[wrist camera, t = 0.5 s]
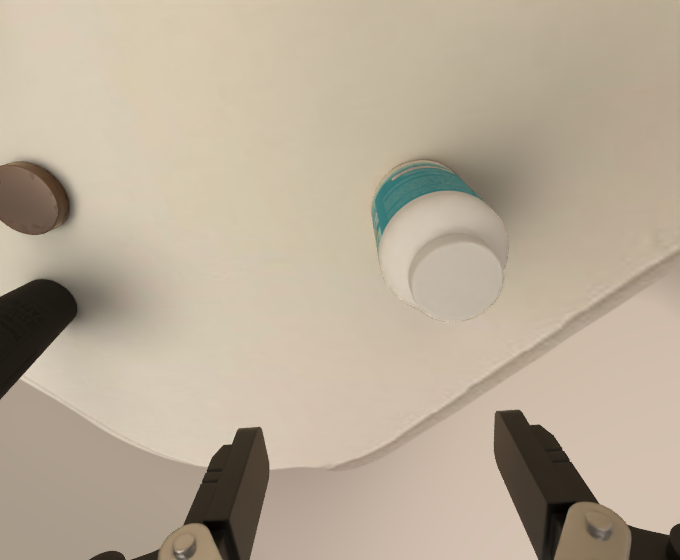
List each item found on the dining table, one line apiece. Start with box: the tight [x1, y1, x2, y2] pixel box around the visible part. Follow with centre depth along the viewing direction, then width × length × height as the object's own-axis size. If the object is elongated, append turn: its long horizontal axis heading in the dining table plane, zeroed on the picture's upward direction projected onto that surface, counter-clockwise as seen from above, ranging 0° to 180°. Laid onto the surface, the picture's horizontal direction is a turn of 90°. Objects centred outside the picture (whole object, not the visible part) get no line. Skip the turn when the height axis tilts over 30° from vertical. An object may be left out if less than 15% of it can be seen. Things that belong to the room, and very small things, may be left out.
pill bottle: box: [371, 160, 509, 322], centre depth 26 cm, size 8×7×14 cm
